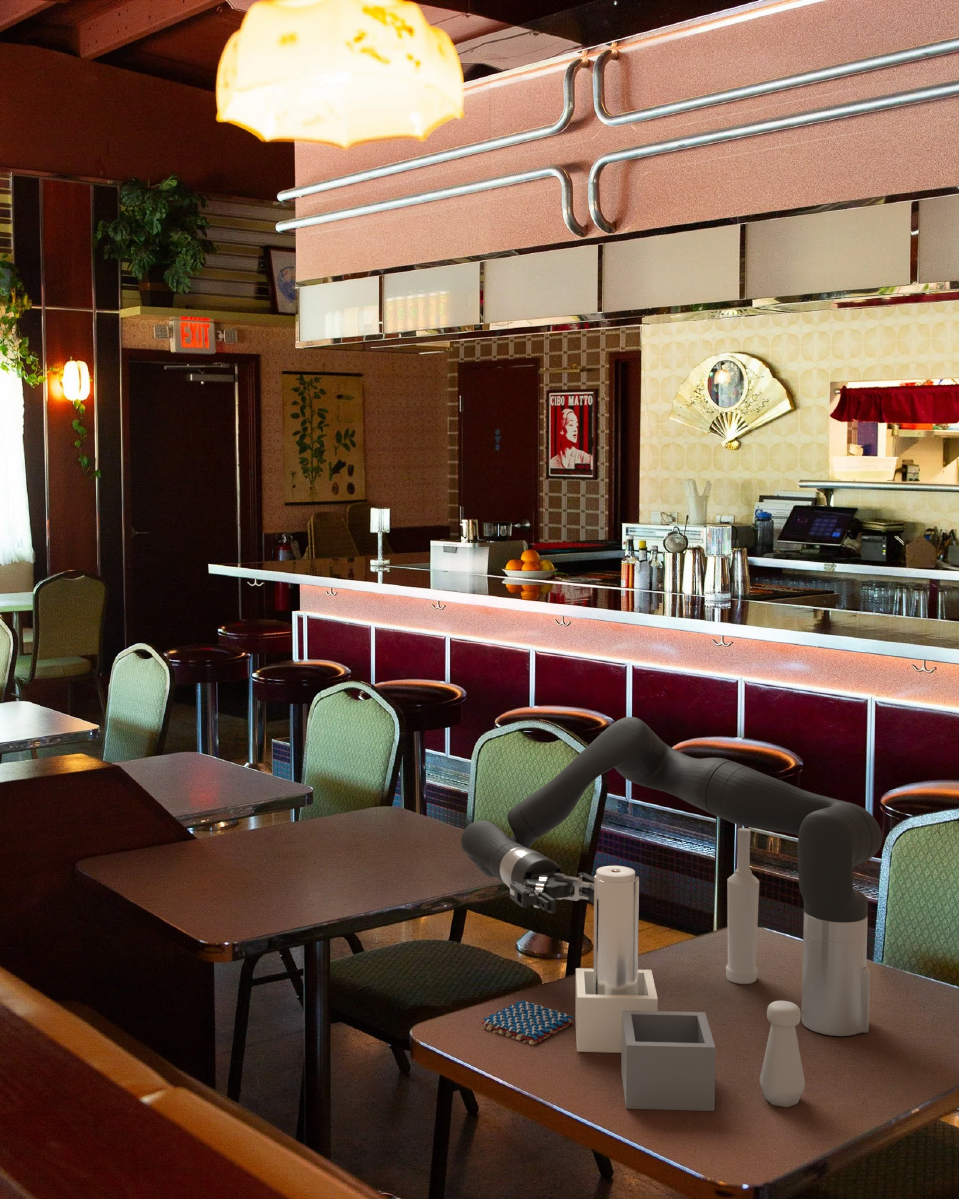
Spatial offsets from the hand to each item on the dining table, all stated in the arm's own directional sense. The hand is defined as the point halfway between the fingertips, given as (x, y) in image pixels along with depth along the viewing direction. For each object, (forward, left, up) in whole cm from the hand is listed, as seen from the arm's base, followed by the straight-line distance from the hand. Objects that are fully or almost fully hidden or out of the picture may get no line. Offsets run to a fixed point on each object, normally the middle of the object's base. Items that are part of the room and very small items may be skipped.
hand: (578, 903), depth 200 cm
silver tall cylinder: (-5, +10, -17) cm, 20 cm away
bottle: (-27, -14, -17) cm, 35 cm away
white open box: (-5, +10, -17) cm, 20 cm away
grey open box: (-11, +27, -17) cm, 34 cm away
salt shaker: (-26, +29, -17) cm, 43 cm away
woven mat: (+8, +7, -17) cm, 20 cm away
